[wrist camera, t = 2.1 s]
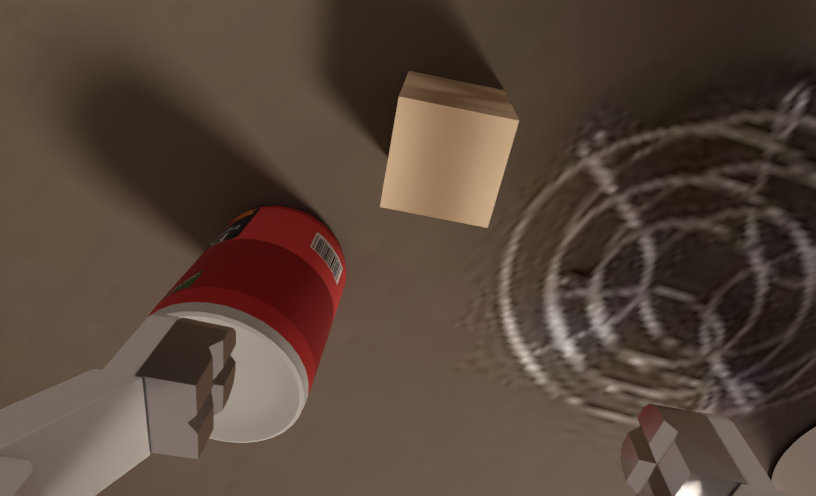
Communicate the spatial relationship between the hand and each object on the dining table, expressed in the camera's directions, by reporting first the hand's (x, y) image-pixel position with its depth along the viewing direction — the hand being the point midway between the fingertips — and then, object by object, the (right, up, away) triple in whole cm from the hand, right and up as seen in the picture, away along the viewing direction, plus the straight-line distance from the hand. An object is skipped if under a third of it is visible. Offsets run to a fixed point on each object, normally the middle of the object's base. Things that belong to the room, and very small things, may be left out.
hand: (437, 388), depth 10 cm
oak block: (+1, +9, +17) cm, 19 cm away
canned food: (-8, +2, +22) cm, 23 cm away
